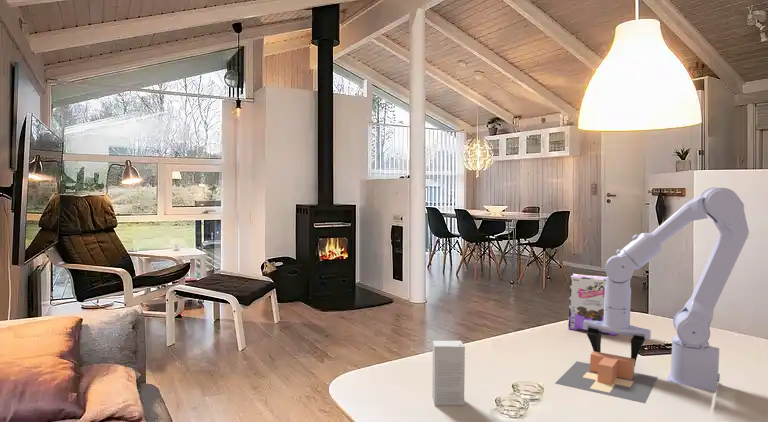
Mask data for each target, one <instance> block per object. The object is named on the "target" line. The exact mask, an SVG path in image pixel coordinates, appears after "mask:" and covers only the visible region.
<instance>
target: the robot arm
mask: <svg viewBox="0 0 768 422" xmlns="http://www.w3.org/2000/svg"><path fill="white" fill-rule="evenodd" d="M708 218H710V219H711V221H713V223H714V225H715V227H716V228H717V230H718V231H719V235H718V238H717V240H716V242H715V244H714V246H713V249H712V251H711V252H710V255H709V257H708V260H707V261H706V263H705V266H704V268H703V269H702V272H701V274H700V276H699V279H698V281H697V284H696V285H695V287H694V290H693V291H692V294H691V297H690V298H689V299H688V300H687V301H686V303H685V304H684V306H683V308H682V309H681V310H680V311H678V312H677V313H676V314H675V315H674V317H673V324H672V325H673V327H674V330H675V331H676V332H677V333H676V334H675V335H674V336H673V337H672V338H671V357H670V358H671V360H670V363H671V364H670V371H669V375H668V376H667V379H666V382H667V383H672V384H676V385H682V386H687V387H692V388H695V389H696V388H697V389H702V390H708V391H712V392H713V393H717V390H718V383H720V380H721V378H720V377H721V374H720V373H719V369H720V368H719V367H720V366H719V364H720V347H716V346H712V345H710V342H709V340H710V337H711V329H710V327H711V324H712V322H713V317H714V311H715V307H716V306H717V303H718V301H719V299H720V297H721V295H722V293H723V291H724V288H725V286H726V284H727V282H728V280H729V278H730V275H731V274H732V271H733V269H734V267H735V265H736V263H737V260H738V259H739V257H740V254H741V252H742V249H743V248H744V245H745V244H746V241H747V239H748V237H749V234H750V230H749V226H748V223H747V218H746V213H745V204H744V202H743V201H742V200H741V198H740V196H739V195H738V194H737V193H736V192H735V191H734V190H732V189H730V188H728V187H716V186H715V187H710V188H707V189H705V190H704V191H703V192H702V193H701V194H700V195H697V196H695V197H693V198H692V199H690V200H688V201H687V202H686V203H685V204H683V205H682V206H681V207H680V208H678V210H676V211H675V212H674V213H673V214H672V215H670V216H669V217H668V218H667V219H666V220H665V221H663V222H662V223H660V225H659V226H658V227H657V228H656V229H654V230H653V231H652V232H642V233H639V235H638V234H634V235H633V236H632V237H631V239H632V241H629V243H628V244H626V245H625V246H624V247H623V248H622V249H619V248H618V249H617V250H615V253H616V255H612V256H610V257H608V259H607V260H606V264H605V265H604V268H605V269H604V270H605V274H606V277H607V278H606V281H605V283H606V286H605V295H604V321H592V320H585V321H584V323H583V329H586V330H588V332H587V331H586V335H587V338H588V340H589V342H590V345H591V347H592V352H593V351H596V352H601V346H602V345H601V343H602V342H601V341H602V331H603V332H609V333H615V334H617V335H622V336H627V337H628V336H629V337H632V338H631V339H630V358H633V359H635V364H636V361H637V359H638V355H639V352H640V350H641V348H642V347H643V346H644V343H645V341H646V340H648V341H649V340H651V337H652V329H648V328H644V327H641V326H635V325H631V309H632V308H631V305H632V303H631V302H632V300H631V299H632V288H631V279H632V277H633V276H634V275H633V274H634V271H635V270H640V269H641V268H642V267H644V266H645V265H646V264H647V263H649V262H650V261H651V260H652V259H654V258H655V257H656V256H658V255H659V254H660V253H661V252H662V243H663V244H664V243H665V241H667V240H668V239H670V238H671V237H672V236H673V235H675V234H676V233H678V232H679V231H680V230H681V229H683V228H684V227H686V226H687V225H688V224H690V223H691V222H694V221H699V220H700V221H701V220H704V219H706V220H707V219H708ZM601 353H602V352H601ZM635 367H636V365H635V366H634V368H635Z"/></svg>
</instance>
